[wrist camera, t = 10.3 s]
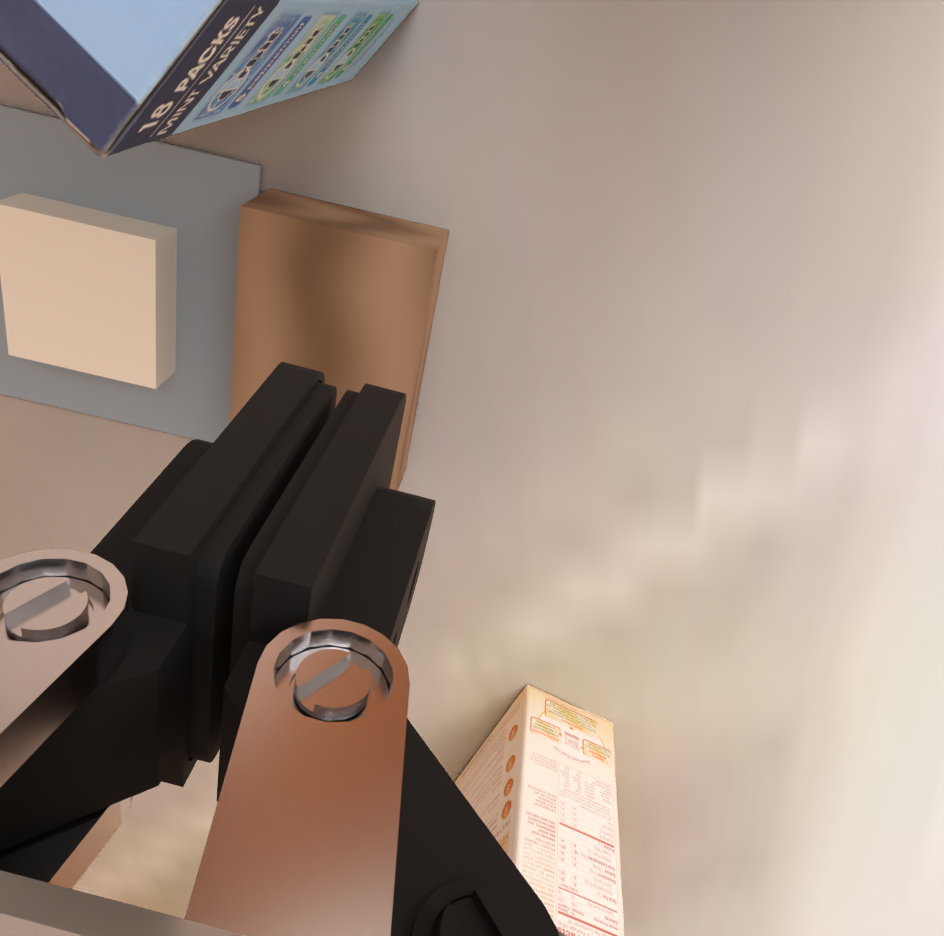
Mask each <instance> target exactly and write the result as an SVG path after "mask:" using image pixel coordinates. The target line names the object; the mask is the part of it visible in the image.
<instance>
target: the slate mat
mask: <svg viewBox="0 0 944 936" xmlns="http://www.w3.org/2000/svg"><path fill="white" fill-rule="evenodd" d="M260 180H261V165H258V164H254V163H250V162H246V161H241V160H237V159H233V158H228V157H224V156H220V155H215V154H211V153H207V152H203V151H198V150H194V149H190V148H185V147H181V146H177V145H172V144H168V143H164V142H160V141H154V142H149V143H145V144H142V145H140V146H136V147H132V148H130V149H127V150H125V151H122V152H120V153H116V154H112V155H109V156H107V157H105V158H103V157H100V156H97V155H96V154H95V153H94V152H93V151H92V150H91V149H90V148H89V147H88V146H87V145H86V144H85V143H84V142H83V141H81V140H80V139H79V138H78V137H77V136H76V135H75V134H74V133H73V132H72V130H71V129H70V128H69V127H68V126H67V125H66V124H65V123H64V122H63V121H62V120H61V119H60V118H56V117H52V116H48V115H43V114H39V113H35V112H30V111H26V110H22V109H18V108H13V107H9V106H5V105H0V200H2V199H5V198H8V197H11V196H14V195H17V194H20V193H26V194H30V195H35V196H39V197H43V198H48V199H52V200H56V201H61V202H65V203H69V204H73V205H78V206H82V207H86V208H91V209H95V210H99V211H104V212H108V213H112V214H116V215H121V216H125V217H129V218H134V219H138V220H142V221H147V222H151V223H155V224H159V225H164V226H168V227H172V228H177V278H176V371H175V372H174V373H173V374H172V375H171V376H170V377H169V378H168V379H167V380H165V381H164V382H163V383H162V384H161V385H160V386H159V387H158V388H157V389H153V388H149V387H145V386H140V385H136V384H132V383H128V382H123V381H119V380H115V379H110V378H106V377H102V376H97V375H93V374H89V373H85V372H80V371H76V370H72V369H67V368H63V367H59V366H54V365H50V364H46V363H42V362H37V361H33V360H29V359H24V358H20V357H16V356H11V355H9V354H8V344H7V335H6V325H5V315H4V306H3V296H2V287H1V277H0V394H2V395H7V396H11V397H15V398H20V399H24V400H28V401H32V402H37V403H41V404H45V405H50V406H54V407H58V408H63V409H67V410H71V411H76V412H80V413H84V414H88V415H93V416H97V417H101V418H106V419H110V420H114V421H119V422H123V423H127V424H131V425H136V426H140V427H144V428H149V429H153V430H157V431H162V432H166V433H170V434H174V435H179V436H183V437H187V438H192V439H200V440H204V441H207V442H211V443H213V442H214V441H215V440H216V439H217V438H218V436H219V435H220V434H221V433H222V432H223V430H224V429H225V428H226V427H227V426H228V424H229V423H230V404H231V384H232V364H233V344H234V324H235V304H236V284H237V264H238V244H239V224H240V206H241V205H243V204H244V203H246V202H248V201H249V200H251V199H253V198H255V197H256V196H258V195H260Z"/></svg>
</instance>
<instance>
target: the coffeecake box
mask: <svg viewBox="0 0 944 936" xmlns="http://www.w3.org/2000/svg"><path fill="white" fill-rule="evenodd" d="M613 726H614V724H613V723H612V722H610V721H608V720H606V719H604V718H602V717H600V716H597V715H595V714H593V713H591V712H589V711H586V710H583V709H580V708H578V707H575V706H572V705H570V704H568V703H566V702H564V701H562V700H560V699H559V698H557V697H555V696H553V695H550V694H548V693H546V692H544V691H542V690H540V689H537V688H535V687H533V686H531V685H527V686H526V687H525V688H524V689H523V691H522V692H521V693H520V695H519V696H518V697H517V699H516V700H515V701H514V703H513V704H512V705H511V707H510V708H509V709H508V711H507V712H506V713H505V715H504V716H503V717H502V719H501V720H500V721H499V723H498V724H497V725H496V727H495V728H494V730H493V731H492V732H491V734H490V735H489V736H488V738H487V739H486V741H485V742H484V743H483V745H482V746H481V747H480V749H479V750H478V751H477V753H476V754H475V755H474V757H473V758H472V760H471V761H470V762H469V764H468V765H467V766H466V768H465V769H464V770H463V772H462V773H461V775H460V776H459V777H458V778H457V780H456V781H455V784H456V786H457V787H458V788H459V790H460V791H461V792H462V794H463V795H464V796H465V798H466V799H467V801H468V802H469V803H470V805H471V806H472V807H473V809H474V810H475V811H476V813H477V814H478V816H479V817H480V818H481V820H482V821H483V822H484V824H485V825H486V826H487V828H488V829H489V830H490V832H491V833H492V835H493V836H494V837H495V839H496V840H497V841H498V843H499V844H500V845H501V847H502V848H503V850H504V851H505V852H506V854H507V855H508V856H509V858H510V859H511V860H512V862H513V863H514V864H515V866H516V867H517V869H518V870H519V871H520V873H521V874H522V875H523V877H524V878H525V879H526V881H527V882H528V883H529V885H530V886H531V888H532V889H533V890H534V892H535V893H536V894H537V896H538V897H539V898H540V900H541V901H542V903H543V904H544V906H545V907H546V909H547V911H548V913H549V915H550V916H551V918H552V920H553V922H554V924H555V925H556V927H557V929H558V931H559V932H561V933H563V934H565V935H567V936H624V918H623V900H622V880H621V862H620V845H619V826H618V808H617V790H616V771H615V751H614V731H613Z"/></svg>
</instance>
